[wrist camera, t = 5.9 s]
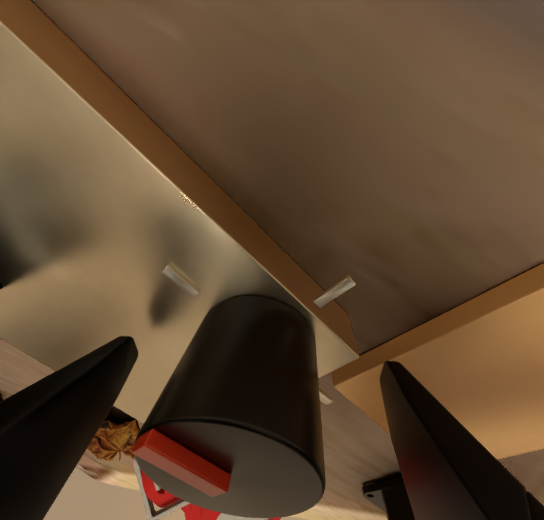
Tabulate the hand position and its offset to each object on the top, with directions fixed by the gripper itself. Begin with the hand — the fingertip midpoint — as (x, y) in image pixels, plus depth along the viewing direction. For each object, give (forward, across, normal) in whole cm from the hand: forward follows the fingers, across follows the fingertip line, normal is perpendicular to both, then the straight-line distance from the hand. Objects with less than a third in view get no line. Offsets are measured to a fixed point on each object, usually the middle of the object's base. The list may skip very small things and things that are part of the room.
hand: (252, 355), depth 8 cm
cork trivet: (+3, -11, +4) cm, 12 cm away
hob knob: (+1, 0, 0) cm, 1 cm away
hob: (+3, +6, -2) cm, 7 cm away
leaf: (+3, +13, +13) cm, 19 cm away
